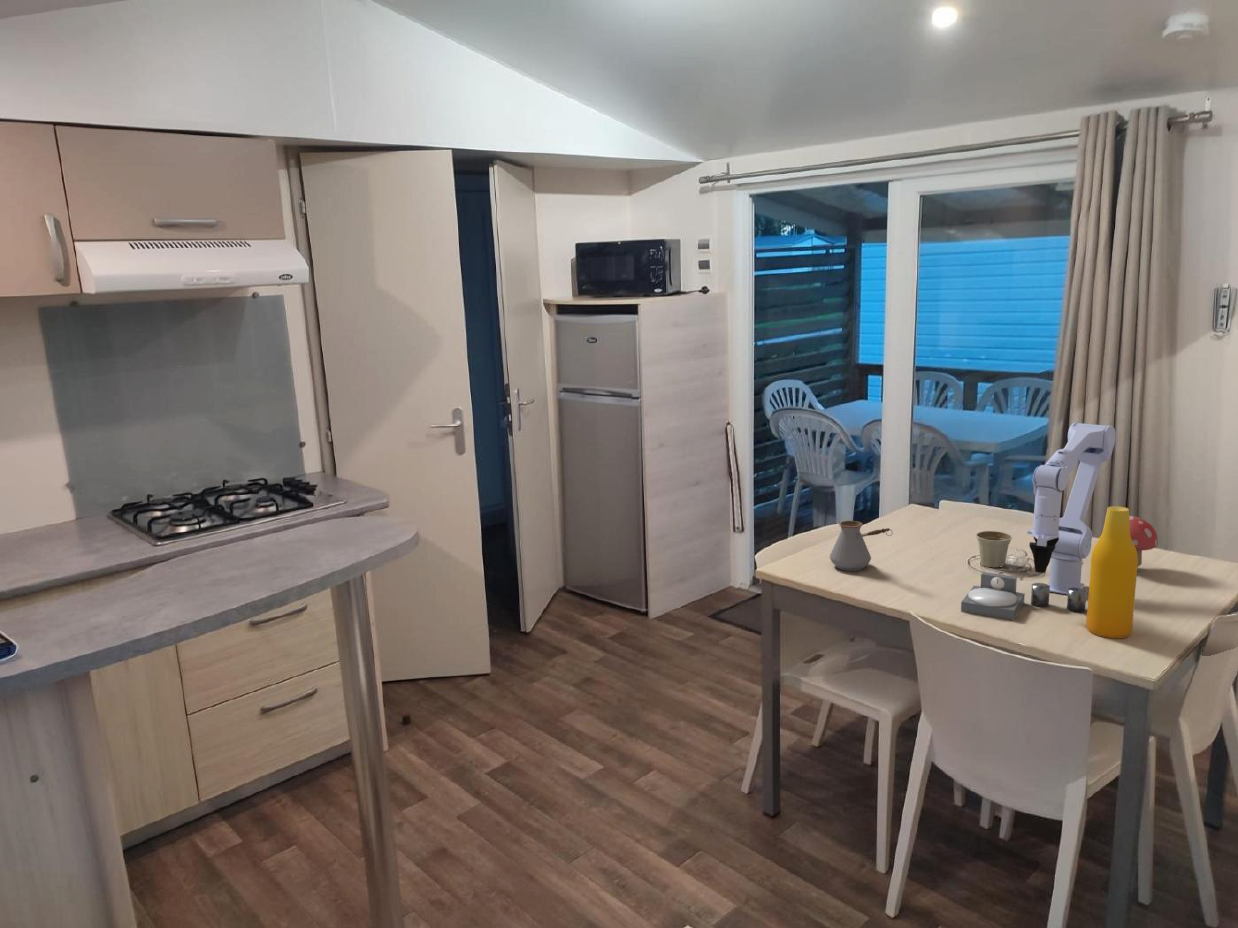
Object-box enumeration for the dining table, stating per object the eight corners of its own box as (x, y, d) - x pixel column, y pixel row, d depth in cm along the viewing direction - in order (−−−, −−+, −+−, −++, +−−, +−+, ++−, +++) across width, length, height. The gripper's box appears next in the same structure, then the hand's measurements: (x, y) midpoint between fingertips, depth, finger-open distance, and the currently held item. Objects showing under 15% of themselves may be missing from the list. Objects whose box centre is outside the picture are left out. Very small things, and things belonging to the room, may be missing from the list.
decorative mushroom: (1096, 560, 247) (1100, 508, 244) (1151, 564, 242) (1155, 511, 239) (1101, 575, 235) (1105, 521, 232) (1159, 579, 230) (1164, 525, 227)
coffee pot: (821, 564, 253) (821, 514, 250) (852, 557, 258) (852, 508, 255) (872, 586, 234) (874, 532, 231) (905, 578, 239) (906, 525, 236)
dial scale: (973, 594, 225) (974, 570, 224) (1024, 602, 219) (1025, 578, 217) (960, 611, 215) (962, 586, 214) (1013, 620, 208) (1014, 594, 207)
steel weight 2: (1068, 605, 216) (1069, 586, 215) (1086, 608, 213) (1087, 589, 212) (1065, 611, 212) (1066, 591, 211) (1084, 613, 210) (1085, 594, 209)
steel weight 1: (1032, 600, 220) (1033, 581, 219) (1049, 603, 217) (1051, 584, 216) (1029, 605, 217) (1030, 586, 215) (1047, 608, 214) (1048, 589, 213)
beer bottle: (1119, 642, 194) (1130, 516, 188) (1077, 630, 201) (1086, 508, 195) (1139, 631, 199) (1150, 508, 193) (1097, 620, 206) (1107, 501, 200)
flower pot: (1001, 572, 241) (1002, 542, 239) (968, 565, 248) (969, 536, 246) (1016, 564, 247) (1018, 535, 245) (984, 557, 254) (985, 528, 252)
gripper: (1032, 507, 221) (1027, 559, 223) (1025, 518, 208) (1020, 573, 211) (1063, 510, 217) (1058, 563, 219) (1058, 521, 205) (1052, 577, 207)
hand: (1041, 568), depth 215 cm, fingers open, 7 cm apart
